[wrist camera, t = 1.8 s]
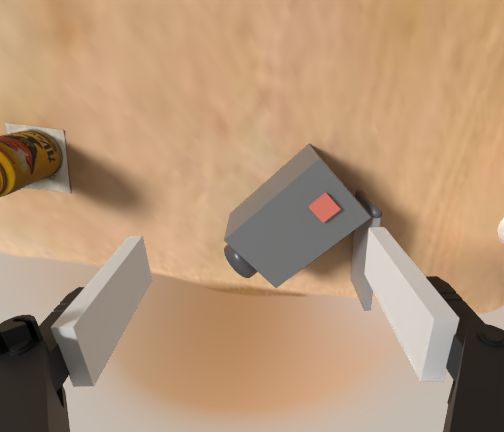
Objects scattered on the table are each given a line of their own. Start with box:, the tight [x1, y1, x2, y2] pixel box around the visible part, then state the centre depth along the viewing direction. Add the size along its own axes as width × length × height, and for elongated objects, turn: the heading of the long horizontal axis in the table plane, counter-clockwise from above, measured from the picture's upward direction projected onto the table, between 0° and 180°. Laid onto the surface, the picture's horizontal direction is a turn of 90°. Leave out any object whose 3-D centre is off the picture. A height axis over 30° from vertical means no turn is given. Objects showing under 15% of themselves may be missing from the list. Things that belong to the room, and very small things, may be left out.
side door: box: [351, 190, 382, 311], centre depth 41 cm, size 14×2×7 cm, turn 3°
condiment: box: [0, 123, 71, 197], centre depth 36 cm, size 7×8×12 cm
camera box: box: [224, 144, 371, 288], centre depth 40 cm, size 17×9×9 cm, turn 133°
